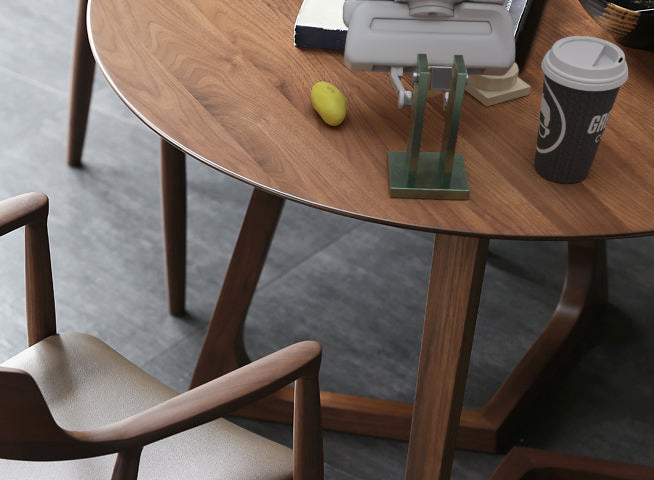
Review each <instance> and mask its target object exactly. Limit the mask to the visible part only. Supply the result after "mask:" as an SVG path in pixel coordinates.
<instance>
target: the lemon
mask: <svg viewBox="0 0 654 480" xmlns="http://www.w3.org/2000/svg"><path fill="white" fill-rule="evenodd" d="M310 102H311V105H312V107H313V109H314V110H315V111H316V112H317V114H318V115H319V116H320V117H321V119H322V121H324V122H325V123H326V124H327V125H329V126H332V127H337V126H339V125H341V124H342V123H343V121H344V120H345V118H346V116H347V108H348V104H347V98H346V97H345V95H344V94H343V93H342V91H340V89H339V88H337V86H335V85H333V84H332V83H329V82H327V81H323V80H322V81H318V82H316V83H315V84H314V85H313V86H312V88H311V92H310Z"/></svg>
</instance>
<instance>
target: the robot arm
mask: <svg viewBox="0 0 654 480" xmlns="http://www.w3.org/2000/svg"><path fill="white" fill-rule="evenodd" d="M505 2H506V0H344V3H343V4H342V21H343V22H342V23H343V24H344V26H345V27H346V28H347V33H346V38H345V45H344V54H343V64H344V65H345V67H346V68H347V70H349V71H350V72H368V73H389V83H390V85H391V86H392V88H393V90H394V92H395V93H396V95H397V109H398V110H411V106H412V97H413V90H406V89H405V87H404V85H403V82H402V78H403V76H404V74H412V73H413V71H416V62H417V54H427V61H428V66H435V67H452V65H453V58H454V55H463V58H464V63H465V68H466V73H468V75H493V76H503V75H505V74H506V73H507V72H508V71H509V70H510V69H511V68H512V66H513V64H514V62H516V38H515V29H514V22H513V18H512V15H511V12H510V11H509V9H507V8H506V7H505V4H506V3H505ZM448 94H449V91H445V92H444V93H443V95H442V103H443V104H442V111H446V108H447V101H448Z"/></svg>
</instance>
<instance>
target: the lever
mask: <svg viewBox="0 0 654 480" xmlns="http://www.w3.org/2000/svg"><path fill="white" fill-rule="evenodd" d="M428 67H429V81H428V89H427V97H426V99H431V98H435V97H437V96H439V95H440V94H441V93H442V92H443V91H445V92H449V90H451V81H452V67H435V66H428Z"/></svg>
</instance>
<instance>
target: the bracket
mask: <svg viewBox="0 0 654 480" xmlns="http://www.w3.org/2000/svg"><path fill="white" fill-rule="evenodd" d="M428 81H429V67H428V61H427V54H417V62H416V71H413V73H411V85H413V89H412V98H411V100H412V105H411V108H410V116H409V125H408V133H407V140H406V150H387V154H386V167H387V177H388V189H389V197H390V198H392V199H393V198H396V199H397V198H400V199H426V200H427V199H428V200H429V199H431V200H457V201H458V200H461V201H468V200H469V198H470V197H469V196H470V185H469V180H468V174H467V169H466V164H465V158H464V153H463V152H456V149H457V142H458V137H459V127H460V122H461V116H462V109H463V102H464V96H465V91H466V90H465V86H467V84H468V73H466V68H465V63H464V58H463V55H454V58H453V65H452V81H451V90H448V92H449V94H448V101H447V108H446V110H445V115H444V116H445V117H444V123H443V130H442V137H441V144H440V152H439V151H421V145H422V136H423V130H424V129H423V128H424V120H425V113H426V105H427V89H428Z"/></svg>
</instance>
